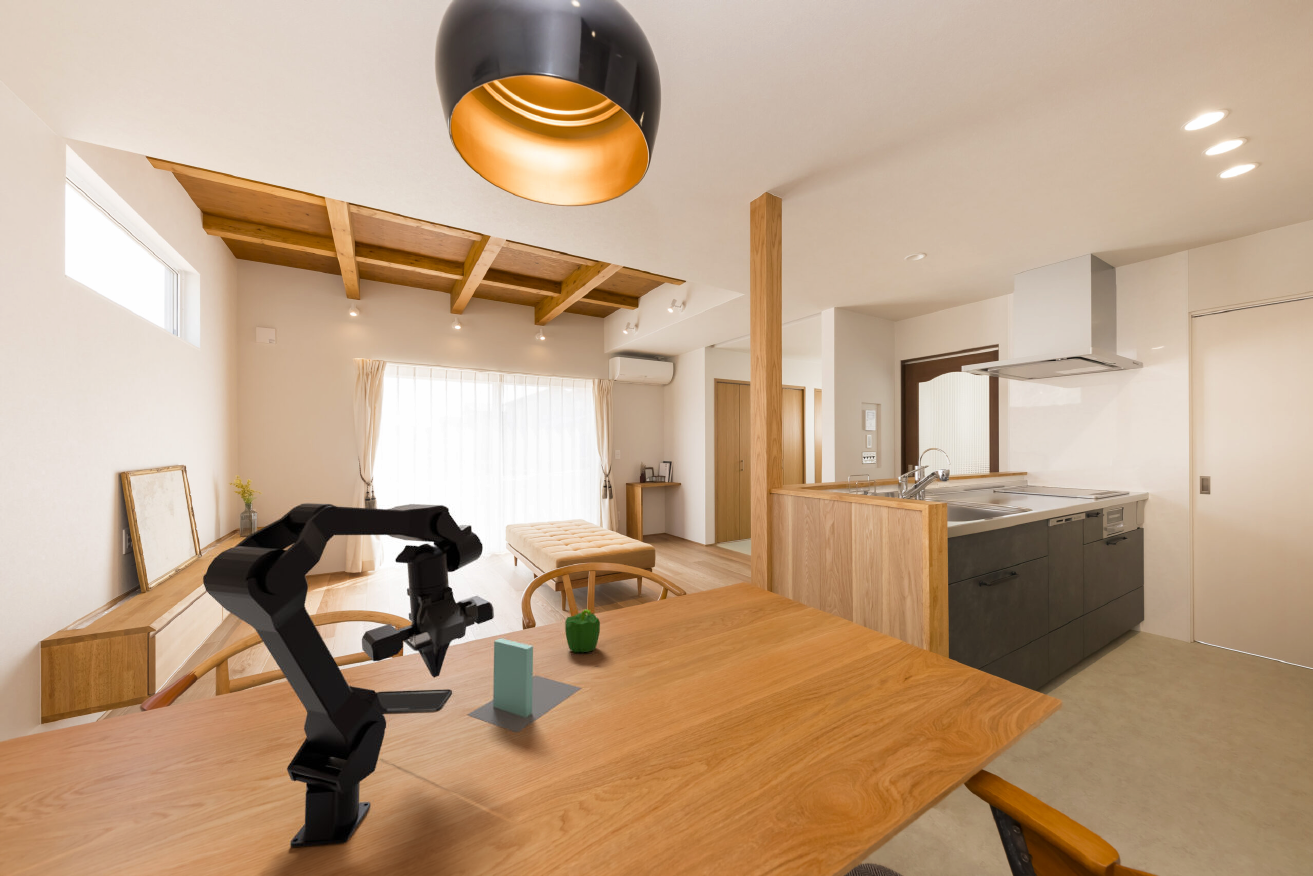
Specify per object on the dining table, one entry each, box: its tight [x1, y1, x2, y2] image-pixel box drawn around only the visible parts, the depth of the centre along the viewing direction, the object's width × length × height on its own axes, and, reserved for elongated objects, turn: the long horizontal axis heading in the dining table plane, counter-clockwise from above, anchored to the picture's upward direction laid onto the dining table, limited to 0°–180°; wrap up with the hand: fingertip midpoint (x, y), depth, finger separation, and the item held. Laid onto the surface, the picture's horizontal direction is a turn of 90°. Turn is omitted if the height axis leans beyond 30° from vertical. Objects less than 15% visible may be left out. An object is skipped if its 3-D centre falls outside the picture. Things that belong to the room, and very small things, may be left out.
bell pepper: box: [564, 608, 601, 653], centre depth 119 cm, size 8×8×10 cm
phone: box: [375, 688, 453, 714], centre depth 92 cm, size 8×1×15 cm
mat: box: [466, 675, 582, 734], centre depth 93 cm, size 18×12×1 cm, turn 152°
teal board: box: [492, 638, 534, 718], centre depth 90 cm, size 2×8×12 cm, turn 62°
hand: (435, 676), depth 79 cm, fingers closed
